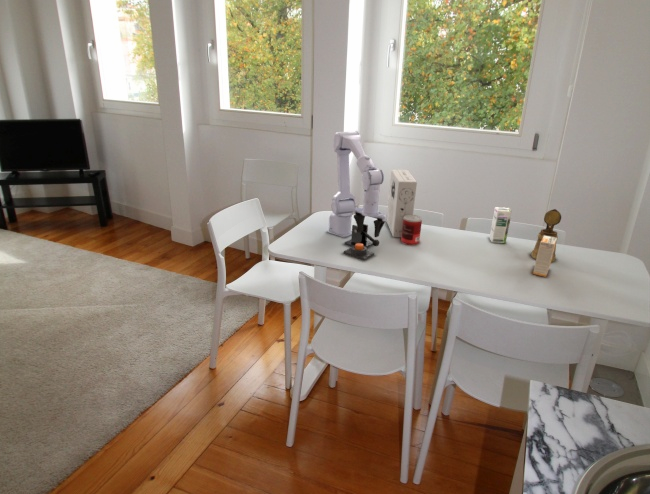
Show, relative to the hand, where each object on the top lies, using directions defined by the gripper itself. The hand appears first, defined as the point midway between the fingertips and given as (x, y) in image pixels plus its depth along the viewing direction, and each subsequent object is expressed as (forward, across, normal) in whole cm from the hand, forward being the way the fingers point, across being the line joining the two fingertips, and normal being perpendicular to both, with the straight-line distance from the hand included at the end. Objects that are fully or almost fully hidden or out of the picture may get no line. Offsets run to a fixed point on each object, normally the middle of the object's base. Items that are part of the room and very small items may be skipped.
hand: (368, 234), depth 184 cm
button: (+6, -1, -4) cm, 7 cm away
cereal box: (+8, -5, +33) cm, 34 cm away
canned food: (+8, +7, +23) cm, 25 cm away
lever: (+4, -4, +5) cm, 7 cm away
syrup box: (+8, +34, +50) cm, 61 cm away
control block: (+8, -1, -4) cm, 9 cm away
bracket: (+8, -7, +5) cm, 12 cm away
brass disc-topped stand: (+8, +54, +48) cm, 72 cm away
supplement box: (+8, +58, +30) cm, 66 cm away
